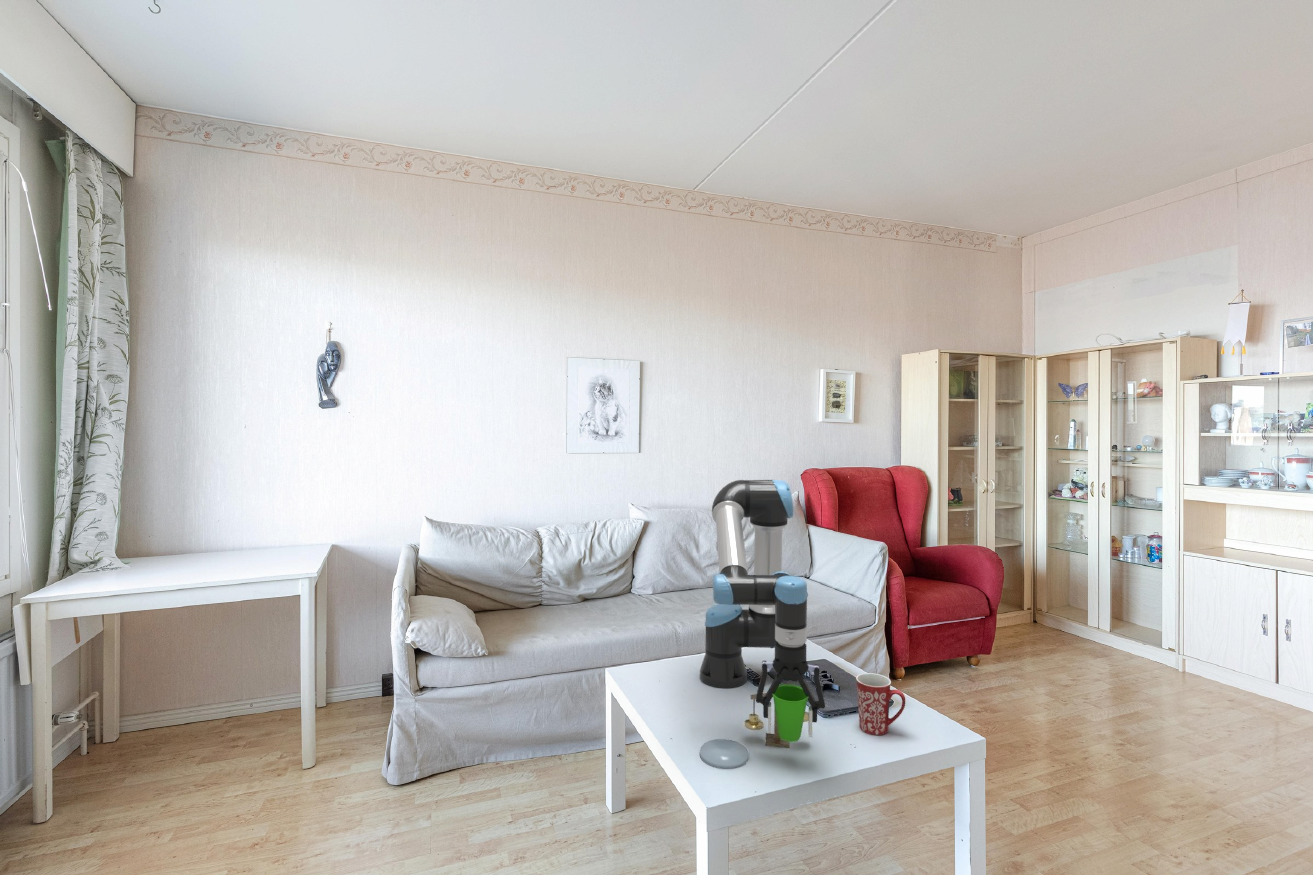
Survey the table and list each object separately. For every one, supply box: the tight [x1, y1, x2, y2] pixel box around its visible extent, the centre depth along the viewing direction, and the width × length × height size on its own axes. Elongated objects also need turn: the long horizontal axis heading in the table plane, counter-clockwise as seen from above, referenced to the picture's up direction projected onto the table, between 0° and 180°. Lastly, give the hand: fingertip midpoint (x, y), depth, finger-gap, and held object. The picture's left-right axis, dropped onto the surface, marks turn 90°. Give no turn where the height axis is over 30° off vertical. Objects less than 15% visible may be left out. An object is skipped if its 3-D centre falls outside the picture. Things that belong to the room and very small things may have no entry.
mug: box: [855, 672, 906, 736], centre depth 167 cm, size 13×9×14 cm
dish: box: [699, 738, 750, 770], centre depth 155 cm, size 12×12×1 cm
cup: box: [772, 683, 809, 743], centre depth 152 cm, size 9×9×11 cm
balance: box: [743, 692, 809, 749], centre depth 161 cm, size 17×5×14 cm, turn 79°
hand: (789, 732), depth 152 cm, fingers closed on cup, 9 cm apart
